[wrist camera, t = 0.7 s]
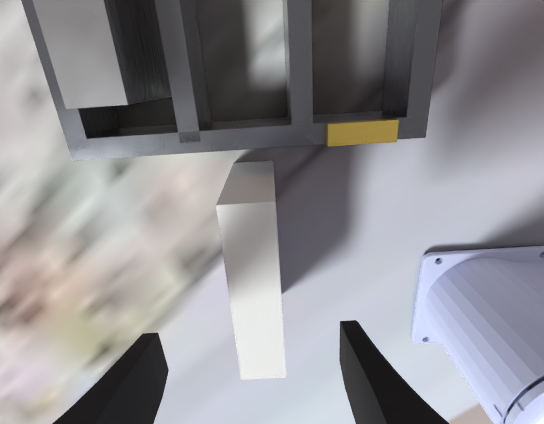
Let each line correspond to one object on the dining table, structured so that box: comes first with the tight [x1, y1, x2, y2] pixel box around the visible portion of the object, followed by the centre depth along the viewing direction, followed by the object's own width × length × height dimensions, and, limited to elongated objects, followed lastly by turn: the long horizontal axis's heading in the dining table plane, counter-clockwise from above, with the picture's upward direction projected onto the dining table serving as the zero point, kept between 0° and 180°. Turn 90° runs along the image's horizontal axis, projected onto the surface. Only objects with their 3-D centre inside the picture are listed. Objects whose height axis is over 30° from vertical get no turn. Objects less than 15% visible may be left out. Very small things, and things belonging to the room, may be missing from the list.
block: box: [216, 160, 286, 380], centre depth 18 cm, size 2×10×7 cm, turn 4°
